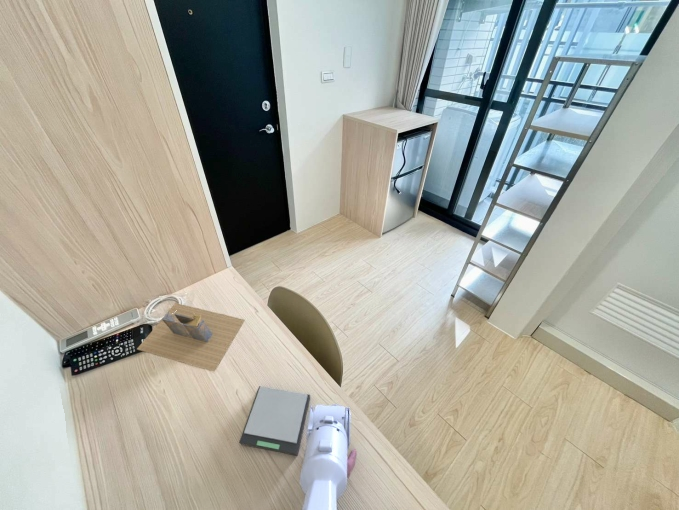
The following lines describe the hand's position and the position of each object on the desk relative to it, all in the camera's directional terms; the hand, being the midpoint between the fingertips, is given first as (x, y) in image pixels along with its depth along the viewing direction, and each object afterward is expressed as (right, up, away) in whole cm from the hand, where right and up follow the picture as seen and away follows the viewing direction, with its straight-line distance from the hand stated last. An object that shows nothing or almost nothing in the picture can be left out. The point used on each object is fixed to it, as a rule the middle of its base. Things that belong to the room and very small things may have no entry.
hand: (332, 455), depth 57 cm
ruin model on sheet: (-42, +19, +22) cm, 51 cm away
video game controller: (0, -1, +1) cm, 2 cm away
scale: (-13, +4, +6) cm, 15 cm away
